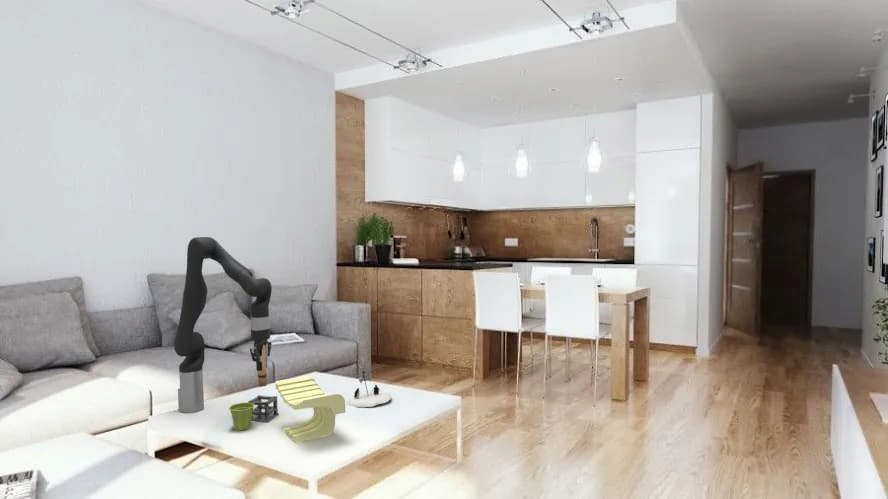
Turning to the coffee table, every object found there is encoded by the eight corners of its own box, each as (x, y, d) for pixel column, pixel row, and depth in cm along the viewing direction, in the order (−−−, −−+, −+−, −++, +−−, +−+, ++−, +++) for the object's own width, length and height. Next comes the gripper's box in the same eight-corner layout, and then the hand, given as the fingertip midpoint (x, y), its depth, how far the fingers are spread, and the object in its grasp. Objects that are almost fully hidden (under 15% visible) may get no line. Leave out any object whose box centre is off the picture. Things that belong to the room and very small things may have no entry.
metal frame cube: (247, 421, 234) (246, 401, 234) (258, 413, 243) (258, 395, 243) (268, 422, 233) (267, 402, 232) (278, 415, 241) (278, 396, 241)
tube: (256, 386, 236) (255, 347, 235) (260, 383, 239) (259, 345, 239) (264, 386, 235) (262, 347, 234) (268, 384, 239) (267, 345, 238)
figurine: (395, 393, 266) (390, 358, 265) (387, 406, 248) (382, 369, 247) (352, 396, 268) (348, 362, 267) (342, 410, 250) (337, 373, 249)
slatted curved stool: (346, 440, 213) (344, 392, 212) (304, 450, 204) (302, 400, 203) (315, 417, 238) (314, 374, 237) (276, 425, 229) (275, 381, 228)
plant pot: (240, 434, 221) (239, 411, 220) (224, 429, 226) (223, 407, 225) (260, 426, 228) (259, 404, 228) (244, 422, 233) (243, 401, 233)
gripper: (260, 324, 244) (262, 364, 245) (242, 330, 230) (244, 373, 231) (277, 324, 242) (278, 365, 243) (259, 331, 228) (261, 374, 229)
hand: (261, 369), depth 237 cm, fingers closed on tube, 3 cm apart
